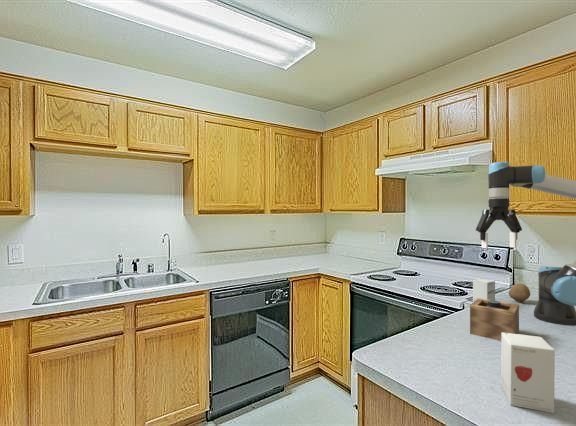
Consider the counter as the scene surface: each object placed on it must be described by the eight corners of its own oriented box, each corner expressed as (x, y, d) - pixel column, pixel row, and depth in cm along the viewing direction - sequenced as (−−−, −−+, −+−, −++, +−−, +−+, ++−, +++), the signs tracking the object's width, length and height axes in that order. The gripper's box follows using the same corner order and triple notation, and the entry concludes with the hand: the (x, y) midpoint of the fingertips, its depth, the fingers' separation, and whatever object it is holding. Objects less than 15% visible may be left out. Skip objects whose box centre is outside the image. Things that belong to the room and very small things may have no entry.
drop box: (519, 332, 125) (518, 304, 125) (514, 343, 115) (514, 312, 115) (478, 324, 135) (478, 298, 135) (470, 333, 124) (470, 305, 124)
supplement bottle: (506, 333, 121) (506, 304, 121) (488, 332, 123) (488, 303, 123) (499, 328, 127) (499, 299, 127) (482, 327, 129) (482, 298, 128)
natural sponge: (533, 305, 162) (533, 285, 162) (512, 303, 165) (512, 284, 165) (527, 301, 170) (527, 282, 170) (507, 299, 174) (507, 281, 174)
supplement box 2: (509, 406, 78) (509, 344, 78) (500, 387, 86) (500, 331, 86) (556, 414, 75) (555, 349, 75) (541, 394, 83) (541, 335, 83)
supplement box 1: (487, 308, 158) (487, 282, 158) (472, 304, 164) (472, 279, 164) (495, 306, 161) (495, 280, 161) (480, 302, 168) (480, 278, 168)
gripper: (517, 198, 144) (517, 246, 144) (466, 198, 140) (466, 247, 140) (532, 198, 136) (532, 248, 136) (479, 197, 133) (479, 249, 133)
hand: (498, 247), depth 138 cm, fingers open, 13 cm apart
